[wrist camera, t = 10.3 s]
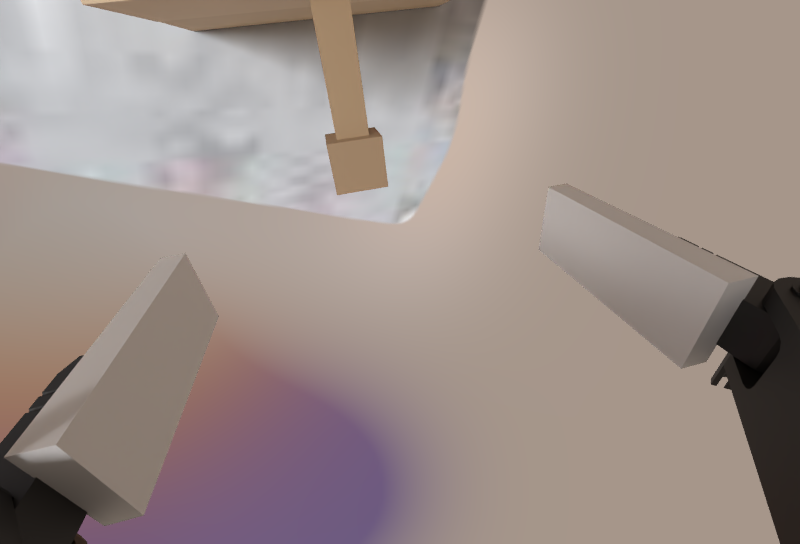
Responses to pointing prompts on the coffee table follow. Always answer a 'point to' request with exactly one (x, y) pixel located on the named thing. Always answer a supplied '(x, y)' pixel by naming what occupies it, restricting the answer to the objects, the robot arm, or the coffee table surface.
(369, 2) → the carton
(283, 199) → the coffee table surface
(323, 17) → the flap outer
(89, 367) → the robot arm
